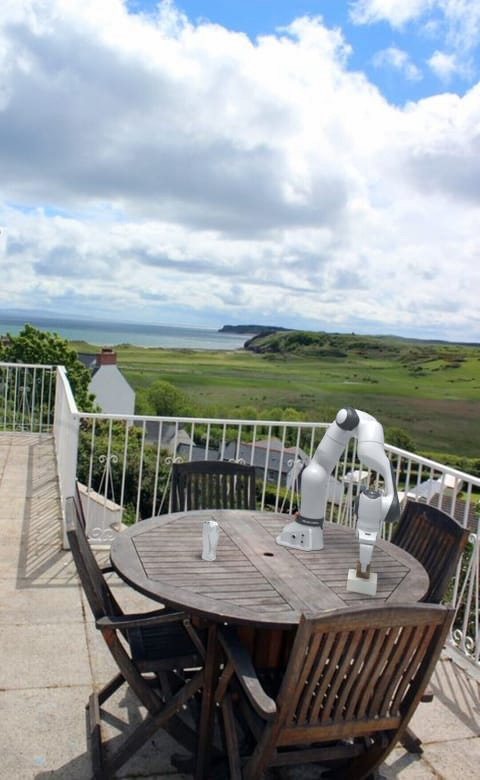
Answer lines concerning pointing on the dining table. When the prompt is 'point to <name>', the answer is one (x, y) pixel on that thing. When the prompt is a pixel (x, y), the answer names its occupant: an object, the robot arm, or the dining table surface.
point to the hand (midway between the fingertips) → (363, 567)
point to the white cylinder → (210, 540)
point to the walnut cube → (363, 574)
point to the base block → (362, 583)
